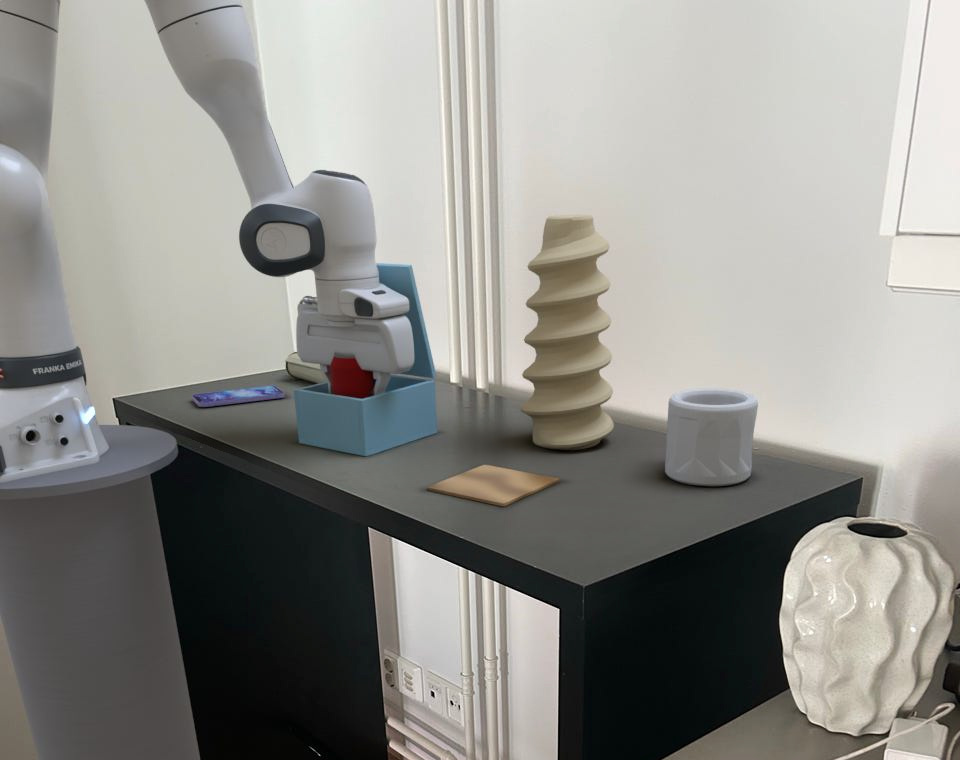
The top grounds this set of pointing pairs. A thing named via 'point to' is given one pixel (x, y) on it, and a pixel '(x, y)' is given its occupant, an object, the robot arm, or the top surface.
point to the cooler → (367, 416)
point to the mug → (710, 436)
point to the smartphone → (237, 396)
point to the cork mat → (493, 485)
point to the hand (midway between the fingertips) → (357, 398)
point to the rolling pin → (303, 369)
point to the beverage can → (350, 377)
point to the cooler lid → (410, 315)
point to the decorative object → (569, 337)
